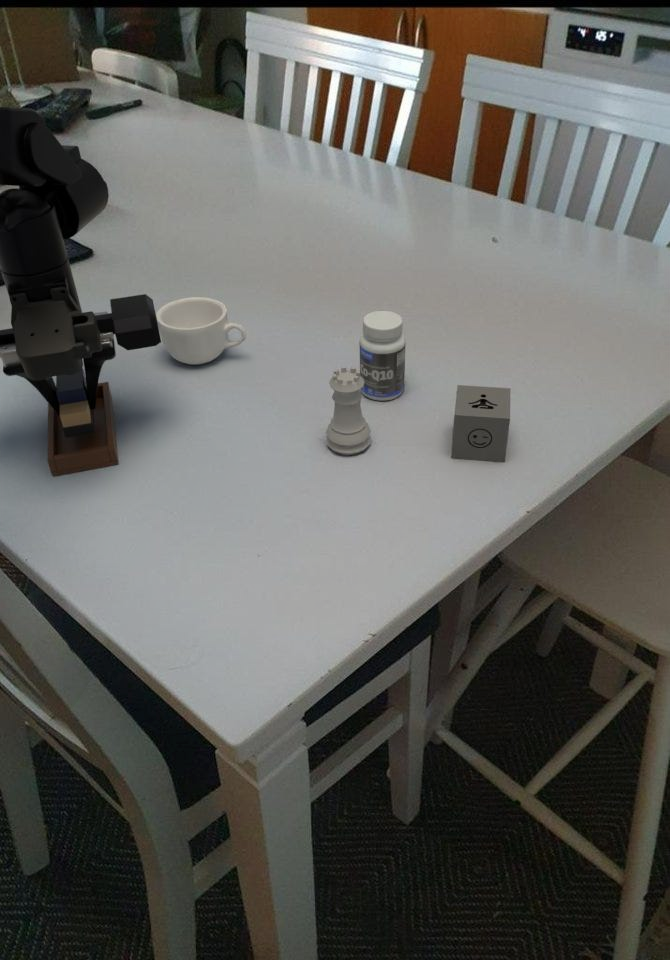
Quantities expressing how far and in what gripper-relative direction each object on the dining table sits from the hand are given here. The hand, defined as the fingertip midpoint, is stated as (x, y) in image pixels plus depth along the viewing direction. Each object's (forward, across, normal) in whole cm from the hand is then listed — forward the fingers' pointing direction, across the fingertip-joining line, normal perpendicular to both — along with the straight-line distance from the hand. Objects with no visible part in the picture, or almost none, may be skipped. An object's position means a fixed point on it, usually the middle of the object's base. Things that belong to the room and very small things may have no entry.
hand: (76, 410), depth 80 cm
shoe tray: (+3, 0, 0) cm, 3 cm away
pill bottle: (+3, +31, -2) cm, 31 cm away
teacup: (+3, +14, +11) cm, 18 cm away
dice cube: (+3, +37, -14) cm, 40 cm away
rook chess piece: (+3, +25, -10) cm, 27 cm away
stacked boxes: (+1, 0, 0) cm, 1 cm away
